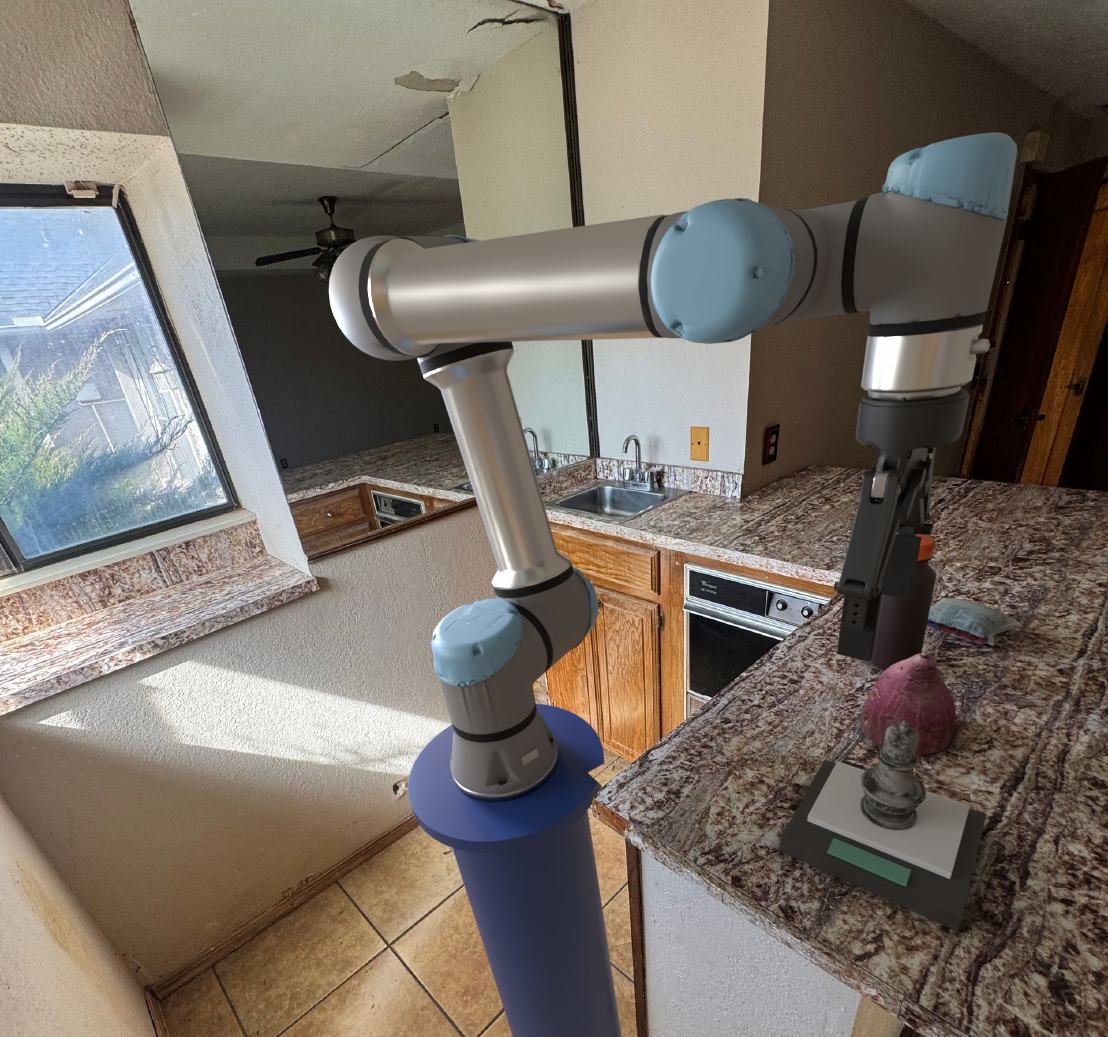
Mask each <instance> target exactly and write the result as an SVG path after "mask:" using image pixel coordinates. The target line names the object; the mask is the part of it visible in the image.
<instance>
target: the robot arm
mask: <svg viewBox="0 0 1108 1037" xmlns="http://www.w3.org/2000/svg"><path fill="white" fill-rule="evenodd" d="M1017 145H1018V144H1017V143H1016V142H1015V141H1014V140H1013V139H1012V137H1011V136H1010V135H1008V134H1006V133H1003V132H985V133H984V132H983V133H977V134H970V135H964V136H958V137H954V138H950V139H945V140H941V141H938V142H933V143H931V144H928V145H926V146H922V147H919V148H918V147H917V148H914V149H911V150H909V151H906V152H904V153H902V154H900V155H899V156H897V157H895V158H894V160H892V162H890V165H889V167H888V171H887V175H886V180H885V183H883V185H882V189H881V192H878V193H877V192H876V193H873V194H871V195H869V196H866V197H862V198H859V199H857V200H851V201H846V202H840V203H836V204H829V205H825V206H819V207H814V208H807V209H802V210H799V209H793V208H787V207H786V208H785V207H777V206H773V205H767V204H764V203H761V202H757V201H754V200H752V199H750V198H747V197H746V198H744V197H738V198H724V199H723V198H722V199H716V200H712V201H709V202H708V201H707V202H704V203H702V204H699V205H697V206H695V207H692V208H691V209H689V210H686V211H685V210H684V211H680V212H676V213H675V212H674V213H670V214H666V215H665V214H656V215H651V216H650V215H649V216H642V217H636V218H630V219H629V218H627V219H622V220H616V221H614V220H613V221H607V222H601V223H594V224H588V225H579V226H572V227H566V228H560V229H553V230H546V231H539V232H532V233H525V234H519V235H518V234H517V235H511V236H505V237H498V238H492V239H491V238H489V239H483V240H479V239H476V238H469V237H466V236H462V235H457V234H446V235H444V236H419V235H417V236H412V235H411V236H409V235H408V236H407V235H397V236H396V235H373V236H368V237H365V238H361V239H359V240H357V241H355V242H353V243H351V244H350V245H349V246H348V247H346V248H345V249H344V250H343V251H342V252H341V253H340V254H339V256H338V257H337V258H336V260H335V262H334V264H333V266H332V269H331V273H330V276H329V280H328V282H329V285H328V296H329V305H330V309H331V311H332V314H333V317H334V319H335V321H336V324H337V325H338V328H339V329H340V330H341V333H343V335H344V336H345V338H347V339H348V341H349V342H350V343H351V344H352V345H353V346H355V347H356V348H357V349H359V351H361V352H363V353H365V354H367V355H369V356H371V357H373V358H376V359H381V360H384V361H398V362H399V361H406V360H415V359H417V362H418V366H419V368H420V371H421V374H422V376H423V380H425V381H427V382H428V383H430V384H432V385H433V386H435V387H437V389H439V390H440V391H441V395H442V396H441V397H442V398H443V401H444V405H445V407H446V408H445V409H446V411H447V415H448V417H449V420H450V424H451V426H452V429H453V433H454V436H455V439H456V442H457V446H458V448H459V452H460V453H461V454H460V455H461V458H462V460H463V463H464V466H465V467H464V468H465V470H466V472H467V476H468V478H469V483H470V485H471V488H472V490H473V494H474V495H473V496H474V497H475V501H476V504H477V508H478V510H479V513H480V516H481V520H482V523H483V524H484V528H485V532H486V535H487V538H488V541H489V544H490V547H491V550H492V553H493V556H494V559H495V562H496V566H497V571H496V572H495V574H494V575H493V578H492V580H491V585H492V589H493V591H494V595H495V597H496V598H485V599H484V598H483V599H478V600H475V601H474V602H473V603H471V604H469V603H465V604H463V605H460V606H459V607H457V608H455V609H454V610H451V611H450V612H448V614H446V615H445V616H444V617H443V618H442V619H441V620H440V621H439V623H438V624H437V625H436V627H435V629H434V630H433V633H432V636H431V651H432V652H431V653H432V655H433V656H432V657H433V669H434V671H435V673H436V675H437V677H438V679H439V683H440V687H441V690H442V695H443V697H444V701H445V705H446V708H447V712H448V715H449V719H450V722H451V725H452V726H453V730H454V732H453V745H452V753H451V758H450V766H451V773H452V776H453V780H454V782H455V785H456V786H457V788H458V789H459V790H460V791H461V792H462V793H464V794H465V795H467V796H468V797H470V798H473V799H476V800H480V801H486V802H502V801H508V800H513V799H517V798H520V797H522V796H525V795H527V794H529V793H531V792H533V791H535V790H536V789H538V788H539V787H540V786H542V785H543V784H544V783H545V782H546V781H547V780H548V779H549V778H550V777H551V776H552V774H553V773H554V771H555V769H556V767H557V764H558V757H559V756H558V749H557V743H556V741H555V738H554V736H553V734H552V732H551V730H550V729H549V727H548V726H547V724H546V722H545V721H544V719H543V718H542V716H541V715H540V713H539V711H538V710H537V706H536V704H537V702H536V701H537V700H536V695H535V690H534V684H535V682H536V681H537V680H539V679H540V678H541V677H542V676H543V675H544V674H545V673H547V671H548V670H550V669H552V667H553V666H555V665H556V664H557V663H558V662H559V661H560V660H561V659H562V658H564V657H565V656H566V655H567V654H568V653H569V652H570V651H572V650H574V649H576V648H577V647H578V646H580V645H581V644H582V643H583V641H584V640H585V639H586V637H587V636H588V635H589V634H590V633H591V631H592V630H593V629H594V627H595V625H596V623H597V620H598V616H599V598H598V595H597V592H596V589H595V587H594V585H593V583H592V582H591V581H590V579H589V578H588V577H585V576H584V572H582V571H581V570H580V569H579V568H577V567H575V566H573V563H572V560H571V558H570V557H569V556H568V555H565V554H563V553H562V552H560V551H559V550H558V548H557V546H556V545H557V544H556V543H555V542H556V541H555V539H554V534H553V531H552V528H551V524H550V520H549V517H548V513H547V511H546V507H545V503H544V499H543V495H542V491H541V488H540V485H539V481H538V477H537V474H536V470H535V466H534V463H533V459H532V455H531V453H530V449H529V445H528V442H527V438H526V434H525V430H524V427H523V424H522V420H521V416H520V413H519V409H518V406H517V403H516V402H517V401H516V398H515V395H514V391H513V388H512V384H511V381H510V376H509V373H508V368H509V365H510V362H511V361H512V359H513V356H514V354H515V348H514V345H513V342H514V343H515V342H550V341H553V342H555V341H586V340H587V341H592V340H595V341H596V340H629V339H630V340H634V339H635V340H636V339H683V340H685V341H688V342H690V343H695V344H705V345H707V344H709V345H712V344H723V343H731V342H736V341H739V340H741V339H745V337H748V336H750V335H751V334H753V333H757V332H758V331H762V330H765V329H767V328H772V327H775V326H778V325H781V324H784V323H789V322H792V321H793V322H794V321H800V320H808V319H815V318H822V317H830V316H839V315H845V314H848V315H852V314H859V313H862V312H869V325H868V331H867V338H866V344H865V345H866V346H865V352H864V360H863V361H864V362H863V369H862V376H861V383H860V387H861V389H863V390H864V391H867V393H866V394H865V395H864V396H862V398H861V399H860V400H859V406H858V413H857V422H856V431H855V439H856V441H857V443H859V444H860V445H862V446H864V447H868V448H869V447H870V448H872V447H873V448H875V449H877V450H878V451H879V457H878V459H877V464H876V466H875V465H873V466H871V468H870V470H868V469H867V470H865V471H864V473H863V475H862V477H861V481H862V483H861V489H860V493H859V494H860V495H859V501H858V505H857V509H856V513H855V516H854V521H853V525H852V527H851V528H852V529H851V532H850V536H849V540H848V544H847V549H846V553H845V557H844V561H843V564H842V569H841V573H840V577H839V580H838V581H834V584H833V591H835V592H836V593H837V595H842V596H843V602H842V610H841V619H840V626H839V634H838V641H837V648H836V655H840V656H843V657H848V658H850V659H851V658H852V659H856V660H860V661H865V662H868V663H871V662H870V660H871V658H872V654H873V648H874V642H875V636H876V629H877V623H878V617H879V611H880V605H881V599H882V595H888V596H893V597H899V598H905V599H909V598H910V596H911V592H912V586H913V581H914V576H915V570H916V565H917V560H918V555H919V549H920V544H921V539H922V537H918V536H916V535H917V534H921V535H927V536H931V535H932V533H933V529H934V523H928V520H930V518H931V501H932V489H933V478H934V468H935V456H936V451H937V448H939V447H940V448H941V447H943V446H947V445H950V444H953V443H954V442H956V441H957V440H959V439H960V438H961V436H962V434H963V430H964V425H965V421H966V416H967V410H968V407H969V406H968V405H969V401H970V394H969V393H968V390H967V389H965V388H962V387H963V386H965V385H967V384H968V383H969V382H971V381H972V380H973V377H974V372H975V367H976V363H977V356H976V355H980V354H985V353H987V352H988V351H989V349H990V346H991V344H990V340H989V339H987V338H980V339H978V338H979V336H980V334H982V333H983V326H984V323H985V321H986V316H987V312H988V307H989V303H990V297H991V293H992V289H993V286H994V285H993V284H994V279H995V276H996V270H997V266H998V262H999V257H1000V253H1001V249H1002V244H1003V240H1004V235H1005V230H1006V225H1007V221H1008V217H1009V207H1010V201H1011V194H1012V188H1013V183H1014V175H1015V169H1016V165H1017V164H1016V163H1017V157H1018V146H1017ZM881 582H882V583H881ZM880 585H881V589H880Z"/></svg>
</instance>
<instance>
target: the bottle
mask: <svg viewBox="0 0 1108 1037" xmlns="http://www.w3.org/2000/svg"><path fill="white" fill-rule="evenodd" d="M916 536H918V537H922V539H921V544H920V549H919V555H918V560H917V565H916V570H915V576H914V581H913V586H912V592H911V596H910V598H909V599H905V598H899V597H893V596H888V595H882V599H881V605H880V611H879V617H878V623H877V629H876V636H875V642H874V648H873V654H872V658H871V660H870V662H869V663H871V664H872V665H873V666H874V667H876V668H878V669H879V670H882V671H885V670H886V669H888V668H889V667H890V666H892V665H893V664H896V663H897V662H900V661H902V660H905V659H908V658H910V657H912V656H914V655H916V654H920V653H923V652H922V651H923V646H924V642H925V637H926V631H927V622H928V616H929V611H930V608H931V607H932V606H931V605H932V601H933V595H934V590H935V585H936V580H937V573H936V571H935V570H934V568H933V567H932V566H931V565H930V564H929V562H930V561H931V559H932V557H933V553H934V548H935V544H936V540H935V538H934V537H933V536H931V535H921V534H917V535H916ZM881 583H882V582H881ZM880 589H881V585H880Z"/></svg>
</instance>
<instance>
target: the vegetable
mask: <svg viewBox="0 0 1108 1037" xmlns="http://www.w3.org/2000/svg"><path fill="white" fill-rule="evenodd" d="M956 714H957V712H956V704H955V701H954V697H953V696H952V693H951V690H950V688H949V687H948V685H947V684H946V682H945V680H944V679H943V677H942V675H941V674H940V672H939V670H938V667H937V663H936V660H935V658H934V657H933V656H932V655H930V654H928V653H925V652H921V653H920V654H916V655H914V656H912V657H910V658H908V659H905V660H902V661H900V662H897V663H896V664H893V665H892V666H890V667H889V668H888V669H886V670H883V672H882V673H881V675H880V676H879V678H877V681H876V683H875V684H874V686H873V687H872V688H871V690H870V692H869V694H868V695H867V698H866V700H865V704H864V707H863V710H862V714H861V717H860V731H861V733H862V734H863V735H864V736H865V737H866V738H868V740H870V741H871V742H874V743H875V744H877V745H879V746H882V747H883V745H884V739H885V733H886V730H887V728H888V727H890V726H891V725H893V724H900V722H902V721H904V720H906V721H907V723H908V724H909V726H911V727H913V728H914V729H915V730H916V731H917V732H918V735H919V741H918V746H917V751H916V755H917V756H918V757H920V756H927V755H932V754H937V753H939V752H942V751H944V750H946V748H947V747H948V745H949V744H950V742H951V740H952V737H953V735H954V731H955V727H956V716H957V715H956Z"/></svg>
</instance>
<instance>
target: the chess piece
mask: <svg viewBox="0 0 1108 1037" xmlns="http://www.w3.org/2000/svg"><path fill="white" fill-rule="evenodd" d="M918 741H919V735H918V732H917V731H916V730H915V729H914V728H913V727H911V726H909V724H908V723H907V721H906V720H904V721H902V722H900V724H893V725H891V726H890V727H888V728H887V730H886V733H885V739H884V745H883V746H882V747H880V748H879V749H878V750H877V753H876V755H877V758H878V760H879V762H878V765H876V766H871V767H869V768H867V769H864V770H865V771H864V772H863V773H862V775H861V778H860V782H861V786H862V788H863V792H864V794H865V795H864V796H863V797H862V798H861V801H860V810H861V812H862V814H863V815H864V816H865V817H866V818H867V819H868V820H869V821H871V822H872V823H874V824H876V825H877V826H879V827H882V828H885V829H890V830H905V829H909V828H910V827H912V826H913V825H914V824H915V823H916V820H917V813H916V810H915V809H916V808H917V807H918V806H919V804H921V803H922V802H923V801H924V800H925V797H926V791H927V790H926V787H925V785H924V783H923V782H922V781H921V780H920V779H919V778H918V777H917V776H915V775H914V769H916V768H917V767H918V766H919V763H920V759H919V756H917V755H916V751H917V746H918Z"/></svg>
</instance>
